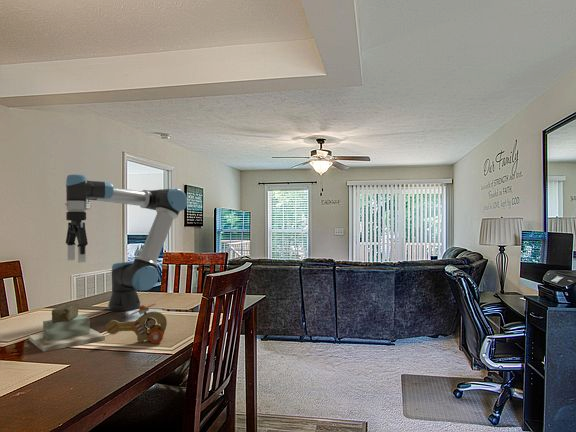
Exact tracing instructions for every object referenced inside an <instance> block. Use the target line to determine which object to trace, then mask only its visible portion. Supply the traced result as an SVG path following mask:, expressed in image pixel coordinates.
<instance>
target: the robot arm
mask: <svg viewBox="0 0 576 432" xmlns="http://www.w3.org/2000/svg"><path fill="white" fill-rule="evenodd" d="M65 181H66V183H65V187H66V197H65V198H66V199H65V200H66V203H64V205H65V206H66V207H65V208H66V211H67V212H66V213H65V214H66V216H65V217H66V218H65V219H66V221H70V222H68V223H67V231H66V239H65V244H66V245H67V261H75V260H76V247H77V263H78V264H79V263H86V262H87V261H86V258H87V255H86V251H87V249H86V247H87V246H88V237H87V232H86V230H87V229H86V222H85V221H86V220H87V212H86V211H87V200H89V201H97V202H105V203H106V202H107V203H112V204H113V203H114V204H123V205H129V206H139V207H140V208H141V209H148V210H151V211H152V210H153V211H156V215H155V217H154V220H153V223H152V225H151V227H150V229H149V231H148V235H147V237H146V240H145V242H144V244H143V246H142V249H141V251H140V254H139V256H137V257H135V258H134V260H132V261H124V262H123V261H122V262H116V263H113V264H112V265H111V271H110V272H111V296H110V298H109V301H108V304H107V310H108V311H112V312H126V311H133V310H137V309H139V308H140V306H141V300H140V298H139V297H140V296H139V295H138V292H137V291H148V290H151V289H153V288H154V287H156V285H157V283H158V280H159V271H158V267H159V266H158V263H157V261H158V258H159V257H160V254H161V252H162V249H163V247H164V243H165V242H166V239H167V237H168V235H169V231H170V229H171V226H172V224H173V221H174V219H177V218H178V217H179V214H180V212H181V211H184V210H185V209H186V208H187V207H188V196H187V194H186V193H185V192H184V191H183V190H182V189H180V188H175V187H172V188H165V189H155V190H154V189H153V190H151V189H150V190H148V189H147V190H146V189H143V190H133V189H128V188H127V189H126V188H120V187H115V186H114V185H113V183H111V182H108V181H96V180H87V177H86V175H83V174H69V175H67V176H66V180H65ZM83 221H84V222H83ZM76 240H77V244H76V242H75V241H76ZM76 245H77V246H76Z"/></svg>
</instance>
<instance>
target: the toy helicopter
mask: <svg viewBox="0 0 576 432" xmlns="http://www.w3.org/2000/svg"><path fill="white" fill-rule="evenodd" d="M155 305H156V303H152V304H150V305H147V306H146V305H140V308H138V310H137V311H134V312H132V313H131V314H130V316H133V315H135V314H137V313H138V314H139V315H140V316H139V317H138V318H137V319H136V320H132V321H124V322H123V321H122V322H121V321H118V320H116V319H111V320H110V321H109V322H107V323H106V325H105V330H106V332H107V334H110V335H116V334H118V333H119V332H133V333H135V335H136V336H137V338H136V339H137V342H138V343H143V342H144V341H149V342H150V343H152V344H155V345H156V343H157V344H160V343H161V342H162V341H163V339H164V335H165V332H166V329H167V326H168V325H167V324H168V322H167V321H168V320H167V318H166V316H165V315H164V314H163V313H162V312H159V311H150V308H151V307H153V306H155Z"/></svg>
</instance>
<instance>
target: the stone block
mask: <svg viewBox="0 0 576 432" xmlns="http://www.w3.org/2000/svg"><path fill="white" fill-rule="evenodd" d="M79 305H80V304H79V303H68V304H67V303H66V304H62V305H59V306H58V307H56V308H53V309H52V310H51V320H52V322H56V323H57V322H63V321H69V320H71V319H73V318H74V317H76V316H79V307H80V306H79Z"/></svg>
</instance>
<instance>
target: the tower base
mask: <svg viewBox="0 0 576 432" xmlns="http://www.w3.org/2000/svg"><path fill="white" fill-rule="evenodd" d="M90 318H91V317H89V316H87V315H86V314H82V315H81V314H80V315H77V316H76V317H74V318H73V319H71V320H69V321H63V322H57V323H56V322H52V319H49V320H43V321H42V322H43V323H42V333H36V334H32V335H28V341H29V342H31V343H32V344H33V345H34V346H36V347H37V348H38V349H39V350H40V351H42V352H43V353H44V352H50V351H55V350H60V349H64V348H65V349H66V348H69V347H75V346H79V345H85V344H90V343H95V342H100V340H101V341H105V340H106V335H105V334H103V333H100V331H97V330H95V329H94V328H92V327H91V325H90V324H91V323H90V322H91V320H90ZM104 339H105V340H104Z"/></svg>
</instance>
